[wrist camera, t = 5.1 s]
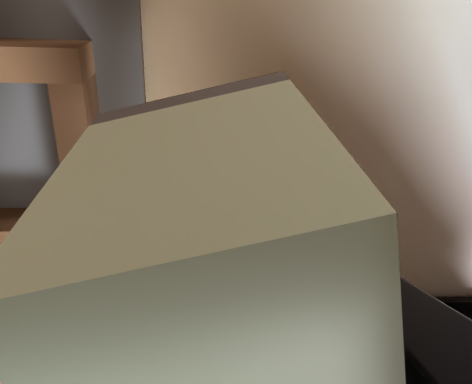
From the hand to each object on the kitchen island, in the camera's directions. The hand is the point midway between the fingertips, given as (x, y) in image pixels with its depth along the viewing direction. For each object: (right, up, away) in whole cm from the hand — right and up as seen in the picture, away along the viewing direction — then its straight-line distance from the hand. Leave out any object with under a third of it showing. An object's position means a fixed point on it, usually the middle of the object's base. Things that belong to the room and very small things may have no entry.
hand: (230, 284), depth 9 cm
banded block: (0, +1, +2) cm, 2 cm away
